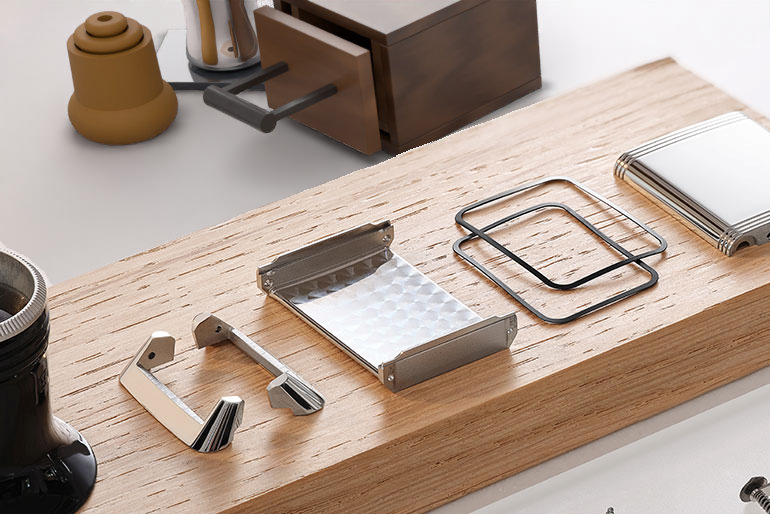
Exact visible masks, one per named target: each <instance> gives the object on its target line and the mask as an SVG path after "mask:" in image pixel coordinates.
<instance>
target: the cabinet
mask: <svg viewBox="0 0 770 514" xmlns="http://www.w3.org/2000/svg"><path fill="white" fill-rule="evenodd" d="M537 3H538V2H537V0H272V5H273V8H274V9H277V10H279V11H281V12H283V13H286V14H288V15H290V16H292V11H291V4H292V5H294V6H296V7H298V8H301V9H303V10H305V11H307V12H310V13H312V14H314V15H317V16H319V17H321V18H323V19H326V20H328V21H330V22H332V23H335V24H337V25H339V26H342V27H344V28H346V29H348V30H351V31H353V32H355V33H357V34H360V35H362V36H364V37H367V38H369V39H371V40H373V41H376V42H378V43H380V44H379V47H380V55H381V64H382V72H383V81H384V89H385V98H386V106H387V115H388V123H389V131H390V133H388V132H385V131H383V130H381V129H379V132H380V140H381V148H382V149H381V150H382V151H383V152H386V153H388V154H390V155H392V156H394V157H396V155H398V154H401V153H403V152H406V151H408V150H410V149H413V148H416V147H419V146H422V145H424V144H427V143H430V142H432V141H434V142H436V141H438V140H441V139H442V138H444V137H446V136H449V135H450V134H452V133H454V132H456V131H458V130H460V129H462V128H464V127H466V126H468V125H469V124H472V123H474V122H476V121H477V120H479V119H481V118H484V117H485V116H488V115H489V114H491V113H493V112H496V111H497V110H499V109H502V108H503V107H504V106H505V107H506V106H507V105H509V104H510V103H513V102H515V101H517V100H519V99H521V98H523V97H524V96H527V95H529V94H530V93H532V92H535V91H536V90H538V89H540V88H542V87H543V80H542V67H541V51H540V35H539V22H538V5H537ZM437 139H438V140H437ZM435 140H436V141H435ZM432 143H433V142H432ZM430 144H431V143H430ZM381 150H380V151H381Z"/></svg>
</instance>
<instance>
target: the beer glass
mask: <svg viewBox="0 0 770 514" xmlns="http://www.w3.org/2000/svg"><path fill="white" fill-rule="evenodd" d="M180 2H181V5H182V10H183V14H184V20H185V30H186V57H187V59H188V61H189V62H190V63H191V64H193V65H194V66H196V67H199V68H202V69H206V70H212V71H229V70H237V69H242V68H245V67H249V66H251V65H254V64H256V63H258V62H260V61H261V58H260V52H259V46H258V39H257V33H256V27H255V20H254V14H253V10H255V9H258V8H259V5H258V4H259V3H258V0H180Z"/></svg>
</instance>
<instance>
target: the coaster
mask: <svg viewBox="0 0 770 514" xmlns="http://www.w3.org/2000/svg"><path fill="white" fill-rule="evenodd" d="M156 55H157V59H158V63H159V67H160V71H161V76H162V79H164V80H165V81H166V82H168V83H169V84H170V86H171V87H172V88H173V90H196V91H197V90H198V91H199V90H204V91H205V89H206V88H207V87H209V86H211V85H214V86H217V87H219V88H223V87H225V86H227V85H230V84H232V83H234V82H236V81H239V80H241V79H243V78H245V77H247V76H250V75H252V74H254V73H256V72H258V71H261V70H262V65H261V61H260V62H258V63H256V64H254V65H251V66H249V67H245V68H242V69H237V70H229V71H212V70H206V69H202V68H199V67H196V66H194V65H193V64H191V63H190V62H189V61H188V59H187V57H186V29H168V30H167V31H166V33H165V36H164V38H163V39H162V41H161V44H160V45H159V48H158V50H157V51H156ZM247 91H266V90H265V84H264V82H263V83H261V84H259V85H257V86H254V87H252V88H250V89H248V90H247Z"/></svg>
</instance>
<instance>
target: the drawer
mask: <svg viewBox="0 0 770 514" xmlns="http://www.w3.org/2000/svg"><path fill="white" fill-rule="evenodd" d="M291 11H292V16H290V15H288V14H286V13H283V12H281V11H279V10H277V9H274V7H272V6H270V5H268V4H264V5H262V6H260V7H258V9H255V10H253V14H254V20H255V27H256V33H257V39H258V46H259V52H260V58H261V65H262V70H261V71H258V72H256V73H254V74H252V75H250V76H247V77H245V78H243V79H241V80H239V81H236V82H234V83H232V84H230V85H227V86H225V87H223V88H219V87H217V86H214V85H211V86H209V87H207V88H206V89H205V90H204V91H203V93H202V101H203V103H204V104H205V105H206V106H208V107H209V108H213V109H215V110H216V111H218V112H220V113H223V114H225V115H226V116H228V117H230V118H233V120H236V121H239V122H240V123H242V124H244V125H247V126H249V127H251V128H253V129H255V130H256V131H259V132H261V133H263V134H266V135H267V134H271V133H273V131H275V129H276V127H277V124H278V122H280V121H281V120H284V119H286V118H290V119H292V120H294V121H296V122H298V123H300V124H302V125H303V126H306V127H308V128H310V129H312V130H315V131H317V132H318V133H320V134H323V135H325V136H327V137H329V138H331V139H334V140H335V141H338V142H339V143H341V144H344V145H345V146H347V147H350V148H352V149H354V150H356V151H357V152H361V153H363V154H364V155H367V156H371V155H374V154H375V153H377V152H379V151H381V149H382V148H381V140H380V132H379V129H381V130H383V131H385V132H388V133H390V131H389V123H388V115H387V106H386V98H385V89H384V81H383V72H382V64H381V55H380V47H379V44H380V43H378V42H376V41H373V40H371V39H369V38H367V37H364V36H362V35H360V34H357V33H355V32H353V31H351V30H348V29H346V28H344V27H342V26H339V25H337V24H335V23H332V22H330V21H328V20H326V19H323V18H321V17H319V16H317V15H314V14H312V13H310V12H307V11H305V10H303V9H301V8H298V7H296V6H294V5H292V4H291ZM263 82H264V84H265V90H264V91H265V97H266V103H267V107H268V109H271V110H270V111H269V110H266V109H264V108H263V107H260V106H258V105H256V104H255V103H252V102H250V101H248V100H246V99H244V98H242V97H240V96H238V95H239V94H241V93H243V92H245V91H249V90H248V89H250V88H252V87H254V86H257V85H259V84H261V83H263Z"/></svg>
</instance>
